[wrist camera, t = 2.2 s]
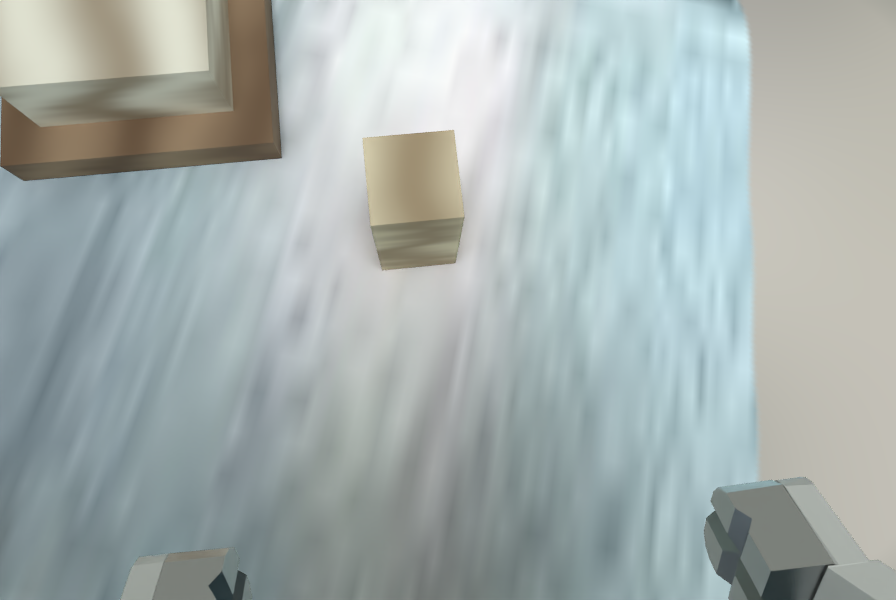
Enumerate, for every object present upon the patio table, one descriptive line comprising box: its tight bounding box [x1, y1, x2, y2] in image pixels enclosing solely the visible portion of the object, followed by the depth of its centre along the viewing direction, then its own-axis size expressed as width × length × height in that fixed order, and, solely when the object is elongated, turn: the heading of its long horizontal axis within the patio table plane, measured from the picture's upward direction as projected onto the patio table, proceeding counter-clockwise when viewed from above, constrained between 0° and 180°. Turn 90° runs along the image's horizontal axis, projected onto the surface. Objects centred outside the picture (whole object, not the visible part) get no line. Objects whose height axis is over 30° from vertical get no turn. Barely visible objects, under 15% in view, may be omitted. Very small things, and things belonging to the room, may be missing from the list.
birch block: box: [363, 130, 464, 270], centre depth 32 cm, size 4×4×8 cm
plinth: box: [0, 0, 282, 181], centre depth 34 cm, size 14×14×6 cm
